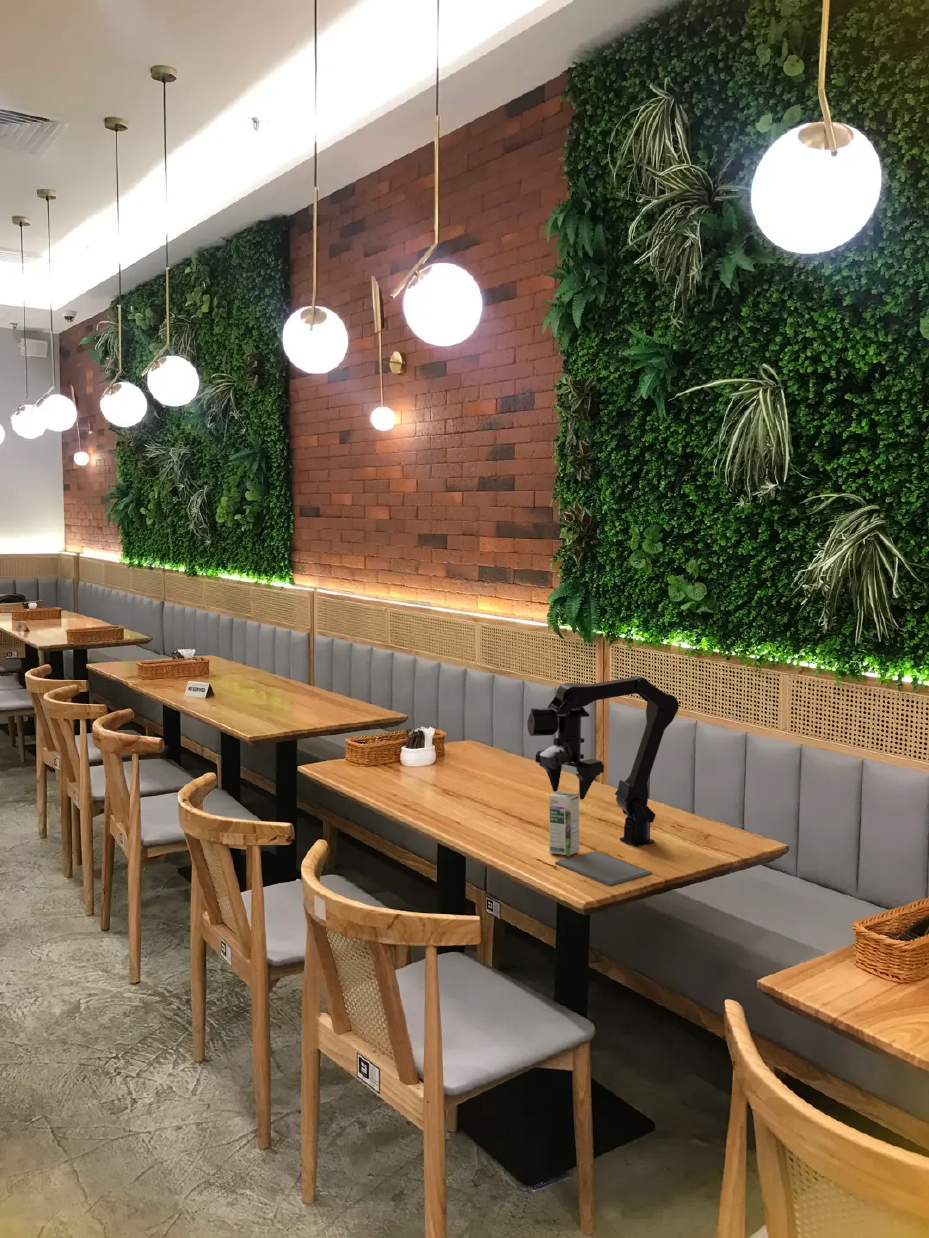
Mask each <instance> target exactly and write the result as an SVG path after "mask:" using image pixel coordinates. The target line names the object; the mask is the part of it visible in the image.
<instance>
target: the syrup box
mask: <svg viewBox="0 0 929 1238" xmlns="http://www.w3.org/2000/svg"><path fill="white" fill-rule="evenodd" d="M548 824H549V825H548V828H549V834H548V835H549V841H548V842H549V844H548V845H549V847H548V848H549V849H548V851H549V854H556V855H561V856H562V855H563V856H568V857H569V856H570V857H571V855H574V854H576V853H578V852H579V851H580V795H579V793H575V792H574V793H573V792H565V791H556V792H554V791H553V792H552V793H550V794H549V795H548Z"/></svg>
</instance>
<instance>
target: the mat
mask: <svg viewBox="0 0 929 1238" xmlns="http://www.w3.org/2000/svg"><path fill="white" fill-rule="evenodd" d="M554 864H555V865H557V866H560V867H561V868H563V869H566V870H569V871H572V872H574V873H576V874H579V875H581V876H584V877H586V878H589V879H591V880H593V881H596V882H599V883H601V884H602V885H606V886H608V887H614V886H617V885H619V884H620V885H621V884H623V883H627V882H629V881H630V882H631V881H633V880H637V879H640V878H643V877H646V876H650V875H653V872H652V871H650V870H647V869H645V868H642V867H639V866H638V865H634V864H632V863H628V862H626V861H623V860H620V859H619V858H616V857H613V856H611V855H608V854H605V853H602V852H600V851H597V850H595V851H591V852H588V853H584V854H579V855H576V856H572V857H569V858H564V859H562V860H561V859H560V860H557V861H554Z"/></svg>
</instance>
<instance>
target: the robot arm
mask: <svg viewBox="0 0 929 1238" xmlns="http://www.w3.org/2000/svg"><path fill="white" fill-rule="evenodd" d="M635 694H637V695H638V696H639V697H640V698H641V699H642V700H644V701H645V702H646V710H645V716H646V723H645V724H646V726H645V729H644V731H643V734H642V737H641V740H640V744H639V746H638V750H637V752H636V756H635V758H634V762H633V766H632V768H631V772H630V774H629V776H628V777H627V779H626V780H625V781H624V780H622V779H620V780H619V783H618V787H617V790H615V791H616V792H615V793H614V795H615V796H616V798H615V801H616V803H617V805H618V807H619V808H620V809H621V810H622V813H623V814H624V815H626V817H625V819H624V827H623V836H622V837H620V838H619V841H621V842H624V843H627V844H630V845H633V846H635V847H642V846H646V845H648V844H652V843H655V839H653V838H651V823H654V821H655V818H656V813H655V812H654V811H653V810H652V809H651V808H650V807H649V806H648V801H649V784H648V783H649V779H650V776H651V773H652V769H653V767H654V763H655V760H656V758H657V754H658V751H659V750H660V749H659V748H660V746H661V742H662V739H663V736H664V733H665V730H666V729H667V727H669V726H670V724H671V723H673V721H674V719H675V717H676V715H677V714H678V711H679V707H680V704H679V701H678V698H676V696H675V695H672V694H670V693H667V692H665V691H662V690H661V689H659V687H657V686H655V685H653V684H652V683H651V682H649V681H648V679H647V678H645V677H643V676H639V675H634V676H631V677H625V678H621V679H614V680H608V681H600V682H595V683H582V682H581V683H579V682H566V683H565V682H564V683H562V684H560V685H559V686H558V687H557V689H556V692H555V696H554V697H553V698H552V699H551V701H550V703H549V704H548V706H547V708H537V707H536V708H535V707H533V708H530V713H529V715H528V719H527V721H526V722H527V723H526V725H527V731H528V734H529V737H540V736H541V737H542V736H544V737H545V736H554V734H557V737H555V738H554V740H553V744H552V745H551V746H549V747H547V748H546V749H542V750H538V751H537V752H536V753H535V763H538V765H539V767H541V768H543V769H544V770H545V771H546V773H547V776H548V779H549V782H550V785H551V789H552V792H553V793H554V792H558V790H559V785H560V779H561V774H562V768H563V767H562V766H563V765H565V766H570V767H572V768H575V769H576V771H577V773H575V775H576V777H577V778H578V781H579V782H578V785H579V787H578V788H579V789H578V791H579V792H578V794H579V800H584V799H585V798H586V795H587V794H588V791H589V789H590V787H591V785H592V784H593V783H594V781H595V779H596V777H597V776H600V774H604V773H605V764H604V762H602V761H601V760H598V759H593V758H589V759H585V755H584V753H581V751H582V747H581V746H582V743H585V738H584V737H582V718H587V717H588V718H589V717H590V713H589V712H587V711H586V709H585V707H586V706H588V705H590V704H592V703H593V702H596V701H599V700H607V699H611V698H617V697H623V696H629V695H635ZM583 759H584V760H583Z"/></svg>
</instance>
